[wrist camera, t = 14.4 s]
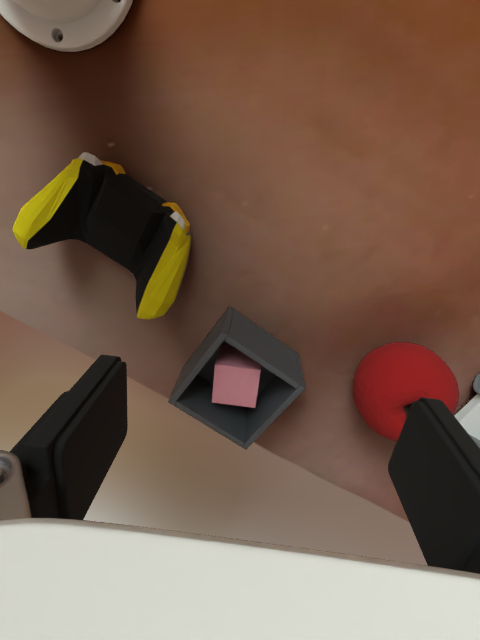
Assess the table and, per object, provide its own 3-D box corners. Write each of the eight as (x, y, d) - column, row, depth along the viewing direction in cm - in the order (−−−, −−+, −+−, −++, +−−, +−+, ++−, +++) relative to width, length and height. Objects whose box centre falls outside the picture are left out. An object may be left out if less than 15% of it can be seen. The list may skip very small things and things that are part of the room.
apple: (414, 409, 38) (461, 482, 29) (334, 397, 39) (356, 465, 29) (444, 335, 35) (508, 391, 26) (356, 322, 35) (388, 373, 26)
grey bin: (182, 367, 39) (167, 402, 33) (229, 305, 35) (222, 331, 29) (248, 409, 40) (246, 450, 34) (299, 354, 37) (305, 388, 31)
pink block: (217, 379, 38) (211, 402, 34) (220, 343, 36) (214, 364, 32) (256, 384, 38) (255, 408, 34) (261, 348, 36) (260, 370, 32)
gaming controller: (169, 311, 36) (219, 230, 33) (153, 333, 31) (211, 240, 27) (37, 229, 34) (76, 133, 30) (-3, 238, 29) (38, 123, 25)
